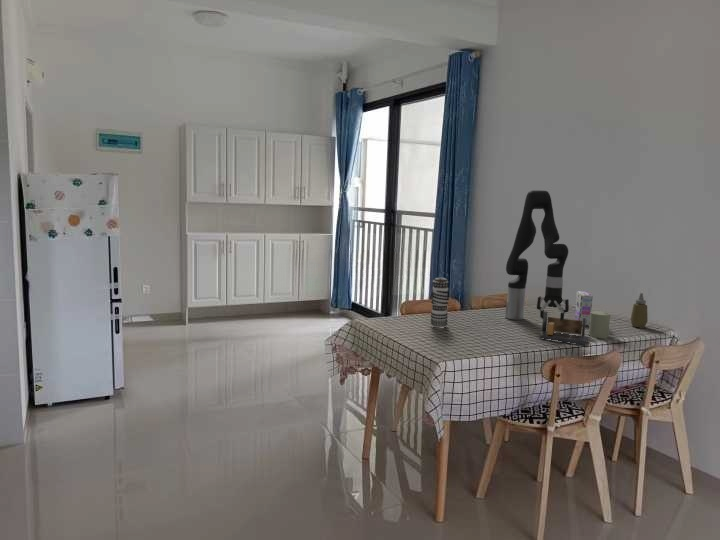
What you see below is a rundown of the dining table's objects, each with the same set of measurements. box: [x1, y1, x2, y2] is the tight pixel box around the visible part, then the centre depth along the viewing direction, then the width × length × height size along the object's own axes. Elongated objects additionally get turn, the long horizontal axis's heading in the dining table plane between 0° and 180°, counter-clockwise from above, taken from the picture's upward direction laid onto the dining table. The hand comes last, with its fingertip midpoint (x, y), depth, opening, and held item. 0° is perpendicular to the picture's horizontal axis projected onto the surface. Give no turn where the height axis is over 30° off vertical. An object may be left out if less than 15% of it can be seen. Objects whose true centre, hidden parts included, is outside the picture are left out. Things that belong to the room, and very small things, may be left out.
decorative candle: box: [430, 277, 450, 328], centre depth 286 cm, size 9×9×25 cm
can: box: [588, 310, 611, 339], centre depth 275 cm, size 9×9×12 cm
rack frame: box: [541, 310, 586, 337], centre depth 278 cm, size 20×2×10 cm, turn 63°
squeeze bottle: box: [630, 292, 648, 328], centre depth 294 cm, size 8×8×18 cm
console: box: [539, 330, 588, 347], centre depth 266 cm, size 20×9×2 cm, turn 63°
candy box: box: [574, 290, 593, 327], centre depth 300 cm, size 14×6×16 cm, turn 168°
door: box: [546, 316, 583, 335], centre depth 277 cm, size 16×2×7 cm, turn 63°
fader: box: [546, 322, 555, 335], centre depth 268 cm, size 2×5×5 cm, turn 153°
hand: (551, 319), depth 267 cm, fingers open, 8 cm apart
